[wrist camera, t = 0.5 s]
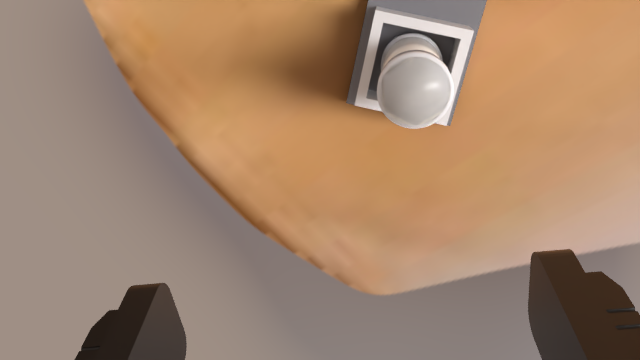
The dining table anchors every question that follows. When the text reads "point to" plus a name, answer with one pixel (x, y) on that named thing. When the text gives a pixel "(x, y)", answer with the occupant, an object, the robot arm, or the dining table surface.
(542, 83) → the dining table surface
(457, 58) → the fuse holder
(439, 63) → the fuse
